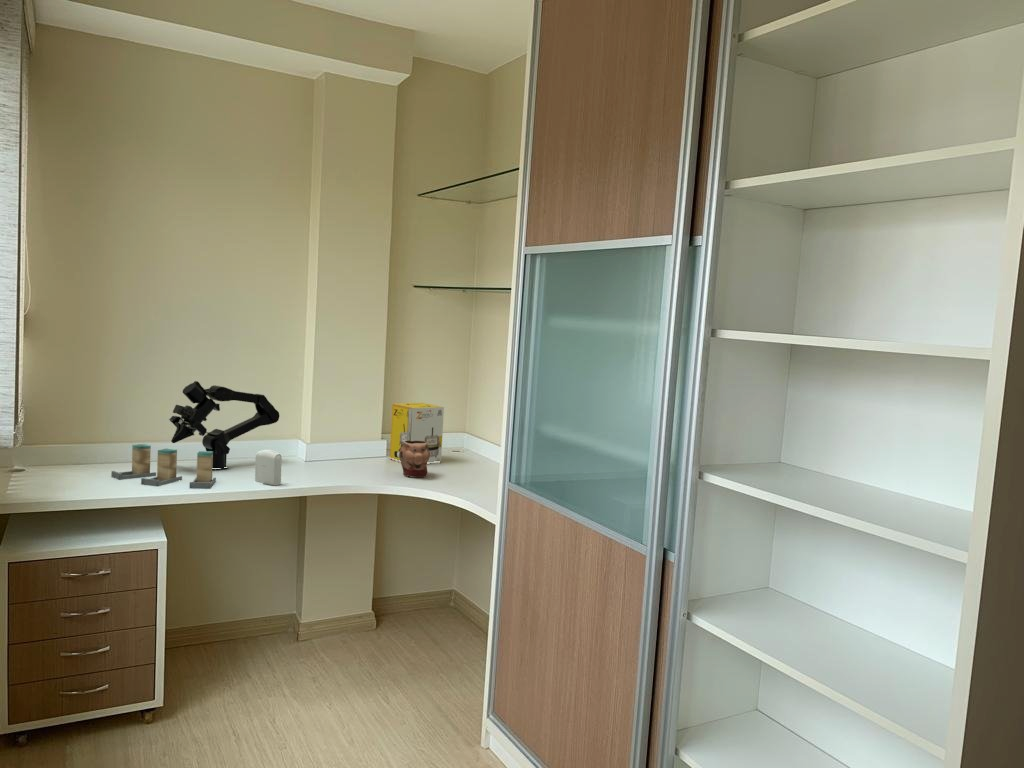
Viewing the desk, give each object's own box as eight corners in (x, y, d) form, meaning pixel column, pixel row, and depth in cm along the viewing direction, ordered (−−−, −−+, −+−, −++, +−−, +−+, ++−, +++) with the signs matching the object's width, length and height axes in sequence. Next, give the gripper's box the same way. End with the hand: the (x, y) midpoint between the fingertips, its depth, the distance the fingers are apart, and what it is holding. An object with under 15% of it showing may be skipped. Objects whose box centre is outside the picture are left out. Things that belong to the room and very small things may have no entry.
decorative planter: (391, 470, 337) (393, 437, 336) (420, 470, 342) (422, 437, 341) (406, 480, 319) (407, 445, 318) (435, 479, 324) (437, 444, 323)
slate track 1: (147, 474, 302) (147, 467, 302) (156, 477, 298) (156, 470, 298) (111, 477, 292) (111, 470, 292) (119, 481, 288) (120, 474, 288)
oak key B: (165, 478, 294) (166, 448, 293) (176, 480, 293) (177, 449, 292) (157, 481, 289) (157, 450, 288) (168, 482, 288) (168, 451, 287)
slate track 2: (165, 479, 296) (165, 472, 295) (182, 481, 294) (182, 474, 294) (141, 485, 283) (141, 478, 283) (158, 487, 281) (158, 480, 281)
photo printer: (252, 482, 299) (254, 449, 298) (261, 480, 303) (262, 447, 302) (274, 486, 294) (275, 452, 293) (282, 484, 298) (283, 451, 297)
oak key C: (198, 481, 292) (199, 451, 292) (211, 481, 293) (212, 451, 292) (196, 484, 288) (197, 453, 287) (209, 484, 289) (210, 453, 288)
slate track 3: (196, 481, 294) (196, 475, 294) (215, 482, 295) (216, 475, 295) (189, 489, 281) (189, 482, 281) (210, 490, 283) (210, 482, 282)
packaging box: (410, 466, 350) (413, 408, 348) (389, 459, 362) (392, 403, 360) (440, 463, 360) (443, 407, 359) (419, 457, 373) (422, 402, 371)
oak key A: (144, 473, 300) (144, 443, 299) (149, 475, 297) (150, 445, 296) (131, 474, 297) (132, 444, 296) (137, 477, 294) (138, 446, 293)
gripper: (174, 394, 314) (145, 424, 306) (200, 399, 302) (170, 431, 294) (193, 414, 320) (165, 444, 313) (218, 420, 308) (190, 451, 301)
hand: (172, 442), depth 305 cm, fingers closed
